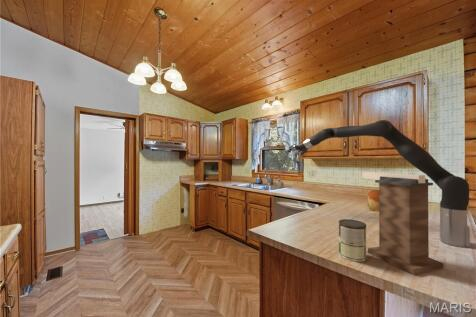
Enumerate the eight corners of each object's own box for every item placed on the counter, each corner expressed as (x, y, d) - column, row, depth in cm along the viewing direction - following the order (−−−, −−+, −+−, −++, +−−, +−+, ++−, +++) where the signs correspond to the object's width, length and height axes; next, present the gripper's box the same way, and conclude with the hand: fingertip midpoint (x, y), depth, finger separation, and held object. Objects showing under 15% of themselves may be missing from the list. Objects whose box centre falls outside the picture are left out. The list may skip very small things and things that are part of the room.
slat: (362, 178, 99) (362, 171, 99) (368, 177, 100) (368, 171, 100) (418, 183, 76) (418, 175, 76) (425, 183, 77) (425, 175, 77)
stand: (367, 252, 89) (367, 176, 89) (394, 248, 94) (394, 175, 94) (413, 274, 72) (412, 180, 72) (443, 268, 76) (443, 179, 77)
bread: (388, 212, 160) (388, 194, 160) (369, 211, 166) (369, 192, 166) (383, 206, 182) (383, 190, 182) (367, 205, 188) (367, 189, 188)
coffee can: (334, 250, 91) (334, 219, 91) (356, 250, 91) (356, 219, 92) (347, 262, 81) (347, 226, 81) (372, 261, 81) (372, 226, 81)
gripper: (301, 145, 146) (285, 154, 158) (314, 151, 153) (297, 160, 165) (300, 137, 150) (284, 146, 162) (312, 143, 157) (296, 152, 169)
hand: (291, 153), depth 163 cm, fingers open, 8 cm apart
